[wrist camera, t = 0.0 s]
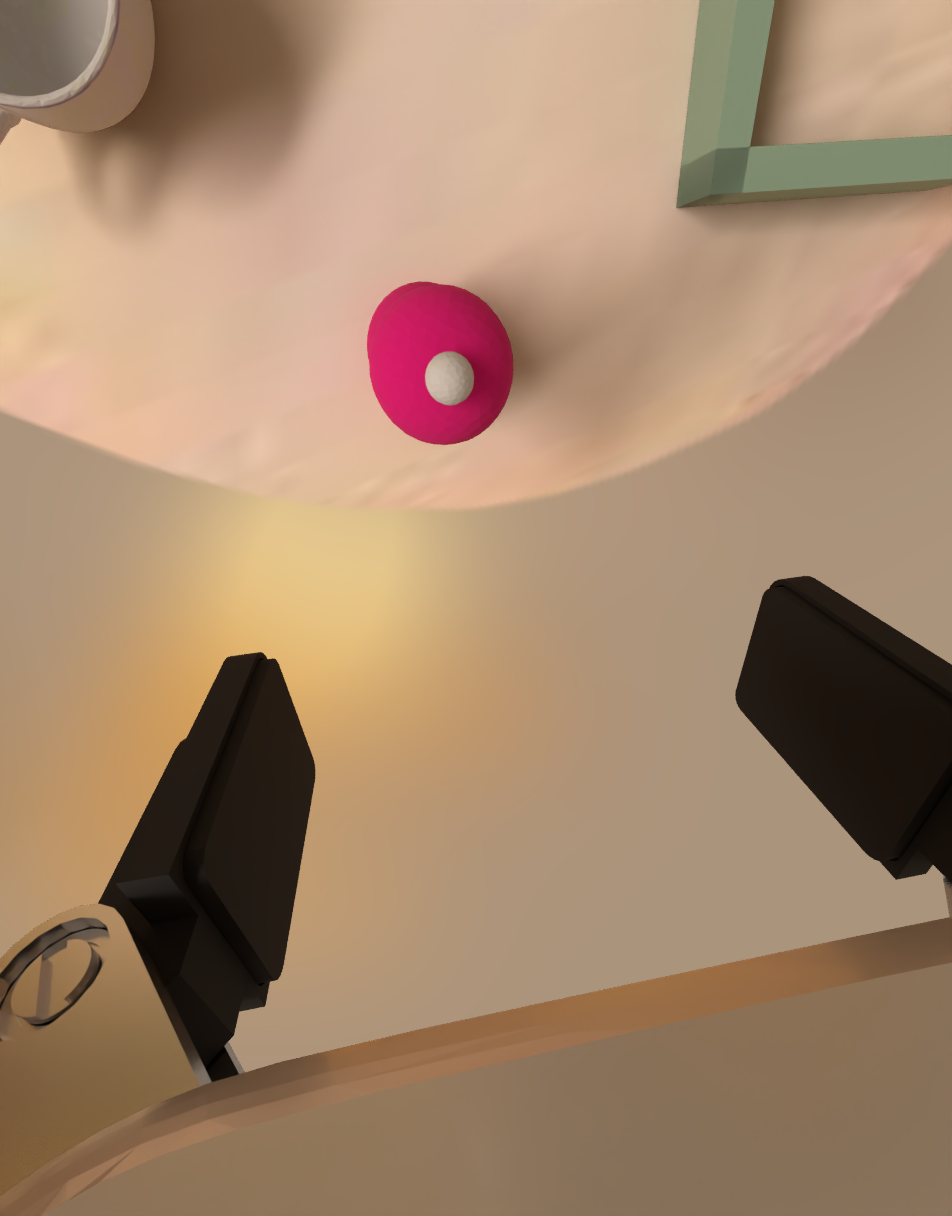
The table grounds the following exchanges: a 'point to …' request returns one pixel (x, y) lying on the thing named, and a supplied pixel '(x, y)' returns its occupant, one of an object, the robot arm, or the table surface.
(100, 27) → the teacup
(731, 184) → the corner stop
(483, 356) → the pepper mill
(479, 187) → the table surface
